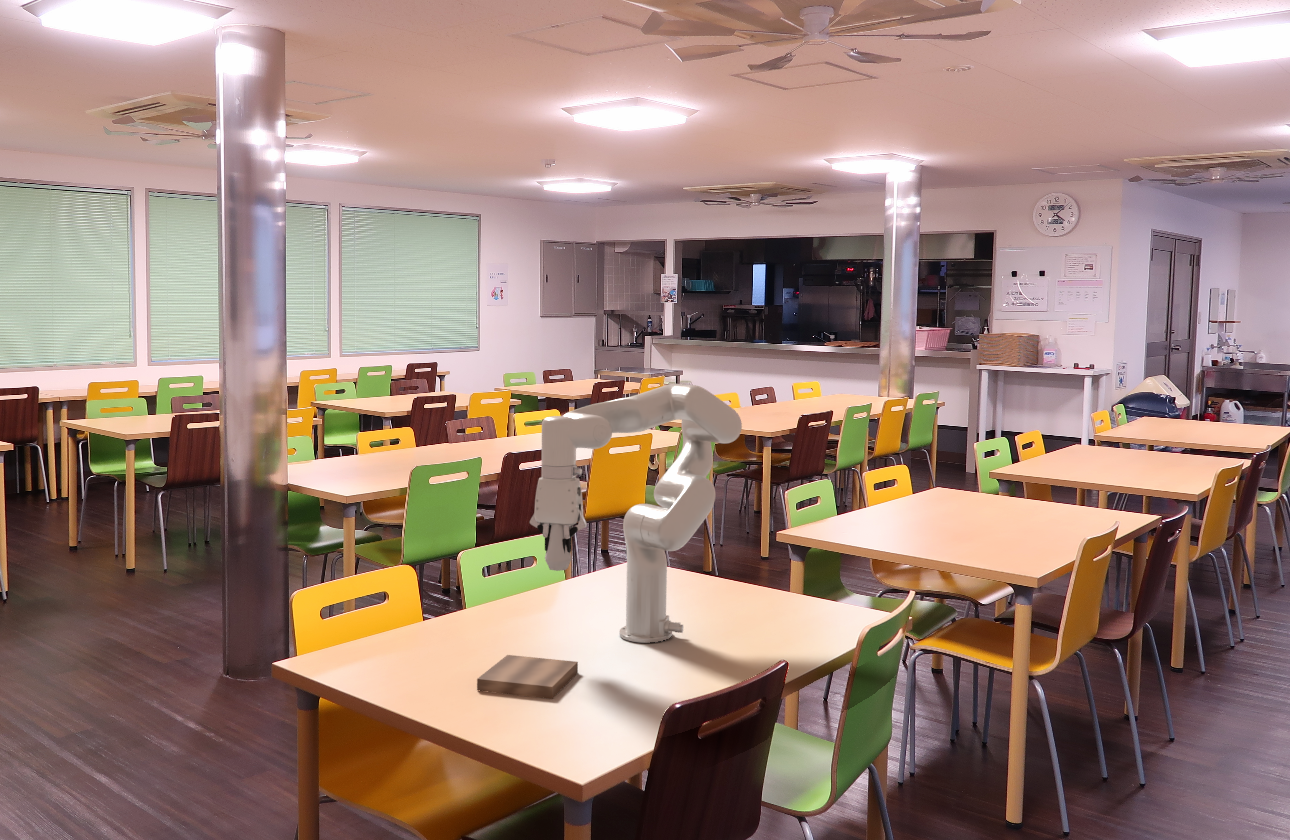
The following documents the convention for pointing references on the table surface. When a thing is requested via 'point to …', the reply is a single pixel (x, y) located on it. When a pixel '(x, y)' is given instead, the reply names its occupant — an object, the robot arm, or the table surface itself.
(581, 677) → the table surface
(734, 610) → the table surface
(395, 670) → the table surface
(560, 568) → the salt shaker
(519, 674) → the walnut base
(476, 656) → the table surface
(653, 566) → the robot arm
